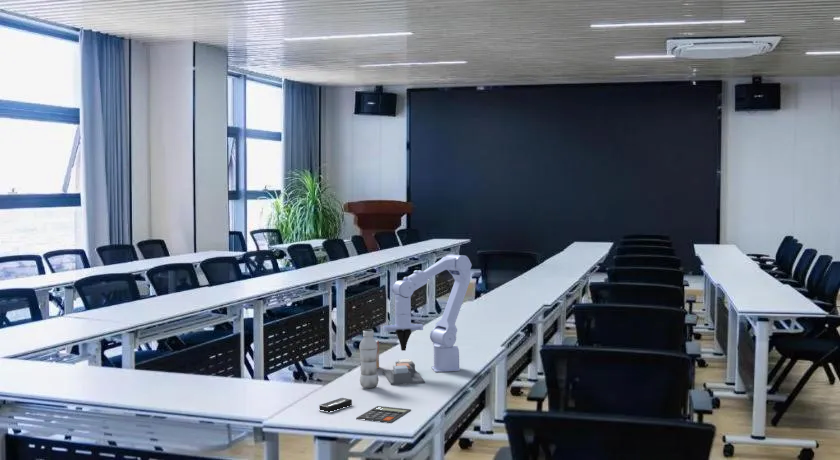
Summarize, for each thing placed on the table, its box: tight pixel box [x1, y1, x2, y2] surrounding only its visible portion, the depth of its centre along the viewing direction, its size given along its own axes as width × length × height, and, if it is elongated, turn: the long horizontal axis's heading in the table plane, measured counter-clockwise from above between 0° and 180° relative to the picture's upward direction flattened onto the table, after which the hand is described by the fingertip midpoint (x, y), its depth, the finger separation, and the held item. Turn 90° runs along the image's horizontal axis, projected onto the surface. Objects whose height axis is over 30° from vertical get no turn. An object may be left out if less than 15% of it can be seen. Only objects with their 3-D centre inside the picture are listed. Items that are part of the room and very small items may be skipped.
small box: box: [359, 339, 380, 369], centre depth 320 cm, size 8×6×10 cm
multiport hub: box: [318, 397, 353, 412], centre depth 265 cm, size 4×11×2 cm, turn 144°
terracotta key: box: [395, 363, 410, 369], centre depth 305 cm, size 4×4×2 cm
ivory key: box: [397, 358, 413, 364], centre depth 312 cm, size 4×4×2 cm
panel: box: [382, 361, 426, 386], centre depth 305 cm, size 12×20×4 cm, turn 11°
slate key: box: [393, 365, 408, 374], centre depth 298 cm, size 4×4×2 cm
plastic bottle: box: [358, 329, 379, 389], centre depth 290 cm, size 6×7×20 cm
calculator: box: [356, 405, 412, 424], centre depth 257 cm, size 12×1×15 cm
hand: (403, 350), depth 308 cm, fingers closed
